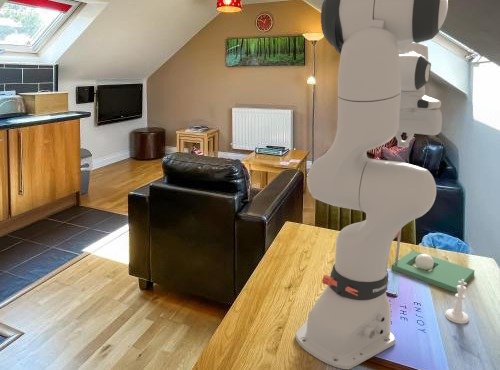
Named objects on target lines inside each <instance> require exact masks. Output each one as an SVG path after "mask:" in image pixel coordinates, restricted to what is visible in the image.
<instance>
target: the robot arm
mask: <svg viewBox="0 0 500 370" xmlns="http://www.w3.org/2000/svg"><path fill="white" fill-rule="evenodd" d="M448 1H449V0H323V1H322V4H321V5H322V6H321V9H320V10H321V11H320V24H321V30H322V35H323V37H324V38H325V40H326V42H327V43H328V44H329V45H330V46H332V47H334V49H335V51H336V52H337V53H338V54H340V55H339V64H338V65H339V66H338V74H337V126H336V127H337V128H336V134H335V137H334V140H333V141H332V142H333V143H332V144H331V146H330V148H328V150H327V151H326V152H325V153H323V154H322V155H321V156H319V157H318V158H316V159H315V160H314V161H313V163H312V164H311V166H310V168H309V170H308V172H307V176H306V178H307V179H306V184H307V188H308V191H309V194H310V195H311V197H312V198H314V199H315V200H316V201H317V200H318V201H320V202H322V203H325V204H328V205H330V206H333V207H337V208H344V209H349V210H355V211H360V212H364V213H365V215H366V217H365V220H362V221H359V222H354V223H351V224H349V225H346V226H344V227H343V228H342V229H341V230H340V231H339V232H338V234H337V236H336V238H335V239H336V243H335V254H334V255H335V256H334V257H335V258H334V263H333V265H332V269H331V270H330V275H328V274H325V275H323V276H322V278H321V279H322V281H321V283H322V284H323V285H326V287H325V289H324V290H323V291H322V293H321V295H320V296H319V298H318V299H317V301H316V302H315V303H314V305H313V307H312V308H311V310H310V311H309V314H308V316H307V317H308V318H307V320H306V321H305V322H304V323H303V324H302V326H301V327H299V329H298V330H297V331H296V332H295V336H294V337H295V341H296V342H297V343H298V344H299V346H300V347H302V349H303V350H305V351H306V352H307V353H308V354H310V355H311V356H313V357H314V358H316V359H317V360H320V361H321V362H323V363H325V364H327V365H330V366H332V367H334V368H338V369H340V370H341V369H343V370H350V369H353V368H354V367H356V366H358V365H360V364H361V363H362V364H363V362H365V361H367V360H369V359H371V358H373V357H374V356H375V355H378V354H381V352H383V351H385V350H387V349H389V348H390V347H392V346H394V345H395V344H396V338H395V335H394V334H393V333H392V331H391V330H392V329H391V327H392V325H391V323H392V322H391V321H392V304H391V302H390V300H389V297H388V296H387V290H388V285H389V282H390V281H389V272H388V264H389V258H390V252H391V247H392V244H393V242H394V239H395V238H394V237H395V236H396V234H397V233H398V232H399V230H400V229H401V228H403V227H404V226H406V225H407V224H409V223H410V222H411V221H412V222H413V220H416V219H419V218H421V217H423V216H424V215H425V214H427V212H429V211H430V210H431V208H432V207H433V205H434V203H435V200H436V197H437V184H436V181H435V178H434V176H433V174H432V173H431V172H430V171H429V170H428V169H427V168H424V167H421V166H419V165H414V164H411V163H407V162H403V161H396V160H395V161H393V160H384V159H376V158H371V157H368V154H367V152H368V151H370V150H373V149H377V148H379V147H382V146H384V145H385V144H387V143H389V142H390V141H391V140H393V138H396V141H397V145H396V146H397V147H400V148H406V149H407V148H409V147H410V141H412V139H413V138H414V136H415V134H416V135H426V136H437V135H439V134H440V133H441V132H442V126H443V114H442V111H441V109H440V108H441V106H442V102H441V100H439V99H436V98H433V97H430V96H428V95H426V85H427V84H428V83H429V82H430V76H431V67H432V63H431V62H430V61H429V49H428V46H427V44H424V43H422V42H427V41H430V40H433V38H435V37H436V36H437V35H439V33H440V31H441V28H442V26H443V25H444V23H445V20H446V18H447V13H448V9H449V2H448ZM403 133H406V137H407V138H406V139H405V140H403V138H402V135H403ZM401 230H402V229H401Z"/></svg>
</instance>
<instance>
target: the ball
mask: <svg viewBox="0 0 500 370" xmlns="http://www.w3.org/2000/svg"><path fill="white" fill-rule="evenodd" d="M431 256H432V255H430V254H427V253H423V254H420V255H418V256H417V257H416V259H415V261H414V264H415V267H417V268H419V269H422V270H425V271H428V272H430V271H431V270H433V268H434V267H433V265H434V261H433V259H432V257H433V256H432V257H431Z"/></svg>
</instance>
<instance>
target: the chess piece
mask: <svg viewBox="0 0 500 370" xmlns="http://www.w3.org/2000/svg"><path fill="white" fill-rule="evenodd" d="M458 283H460V284H461V285H458V286H457V290H458V292H457V293H455V295H454V297H455V298H456V302H455V305H454V307H453V308H449V309H447V310H445V317H446V319H448V320H449V321H451V322H454V323H455V324H467V323H468V322H469V315H468V314H467V313H466V312H465V311H463V300H465V299H466V296H465V295H464V294H465V293H466V291H467V284H468V282H466V283H465V282H464V279H462V281H458Z"/></svg>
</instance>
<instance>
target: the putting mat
mask: <svg viewBox="0 0 500 370" xmlns="http://www.w3.org/2000/svg"><path fill="white" fill-rule="evenodd" d="M402 228H403V227H402ZM402 228H401V229H400V230H399V232H398V233H397V234H396V236H395V237H394V239H396V238H397V243H396V251H395V252H396V253H395V258H394V259H395V261H394V262H393V263H392V264H391V270H394V271H396V272H398V273H400V274H403V275H407V276H409V277H412V278H413V279H417V280H420V281H422V282H424V283H428V284H431V285H433V286H436V287H438V288H441V289H444V290H445V291H446V290H447V291H449V292H452V293H455V294H458V290H457V286H458V285H461V284H460V283H458V281H462V279H464V282H465V283H468V282H469V280H471V279H472V278H473V277H474V275H475V271H476V270H475V269H473V268H469V267H467V266H463V265H460V264H457V263H454V262H450V261H448V260H445V259H441V258H438V257H435V256H432V255H430V256H431V257H432V259H433V261H434V265H433V267H432V269H430V270H429V271H425V270H422V269H419V268H417V266H413V265H411V264H413V263H415V259H416V257H417V256H418V255H420V254H424V252H423V253H422V252H419V251H416V250H412V251H410V252H408V253H407V254H405V255H404V256H403V257H400V258H399V254H400V245H401V238H402Z"/></svg>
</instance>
